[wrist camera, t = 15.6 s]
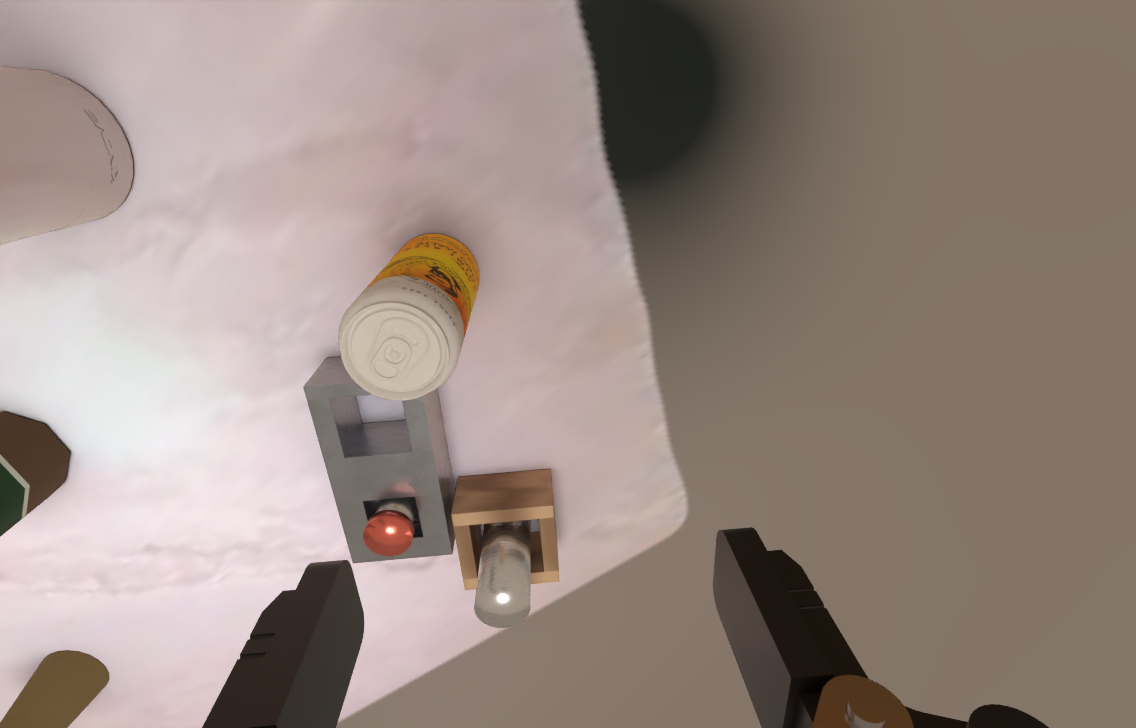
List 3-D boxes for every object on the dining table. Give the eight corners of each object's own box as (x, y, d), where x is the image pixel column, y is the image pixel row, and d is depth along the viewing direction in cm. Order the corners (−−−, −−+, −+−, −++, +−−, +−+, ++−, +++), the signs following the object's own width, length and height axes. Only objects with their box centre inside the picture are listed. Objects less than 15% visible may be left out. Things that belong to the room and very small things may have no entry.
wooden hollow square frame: (470, 548, 53) (464, 590, 48) (458, 476, 49) (451, 514, 45) (556, 540, 53) (559, 581, 48) (550, 468, 50) (553, 505, 45)
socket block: (368, 522, 51) (353, 563, 46) (326, 358, 44) (303, 386, 39) (458, 514, 51) (452, 554, 46) (430, 349, 44) (419, 377, 40)
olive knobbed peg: (43, 644, 54) (-67, 766, 44) (112, 658, 55) (21, 780, 45) (38, 685, 56) (-67, 810, 46) (105, 698, 58) (16, 823, 48)
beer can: (495, 261, 42) (479, 336, 28) (453, 326, 44) (420, 426, 30) (421, 214, 40) (366, 270, 26) (381, 284, 42) (310, 370, 28)
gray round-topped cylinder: (488, 528, 52) (477, 629, 42) (483, 493, 50) (471, 589, 40) (532, 525, 52) (532, 625, 42) (529, 489, 50) (527, 584, 40)
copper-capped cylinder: (386, 507, 49) (368, 558, 43) (377, 473, 47) (358, 520, 42) (428, 503, 49) (415, 553, 43) (421, 469, 47) (407, 516, 42)
